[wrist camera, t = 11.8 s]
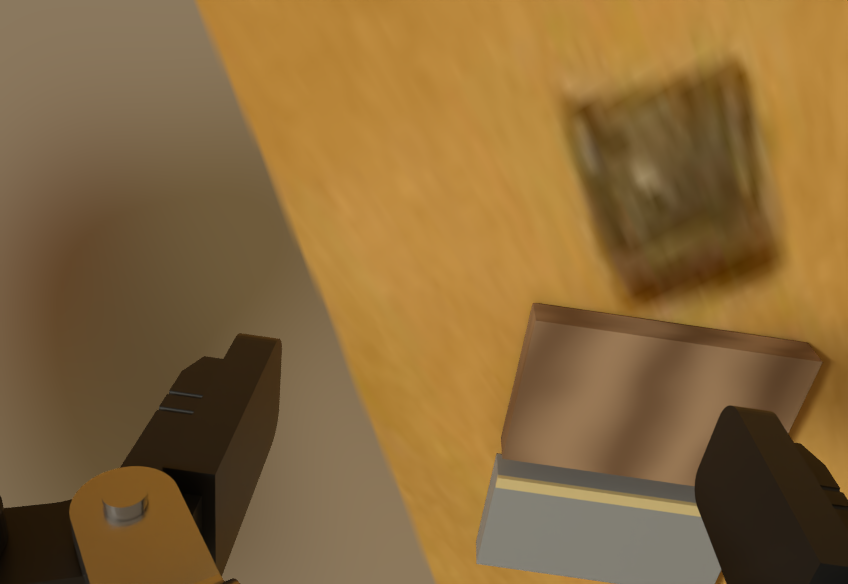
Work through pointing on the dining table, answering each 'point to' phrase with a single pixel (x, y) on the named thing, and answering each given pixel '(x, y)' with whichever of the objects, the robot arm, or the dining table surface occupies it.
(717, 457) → the robot arm
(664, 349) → the walnut plank
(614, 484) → the board
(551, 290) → the dining table surface
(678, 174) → the dining table surface
